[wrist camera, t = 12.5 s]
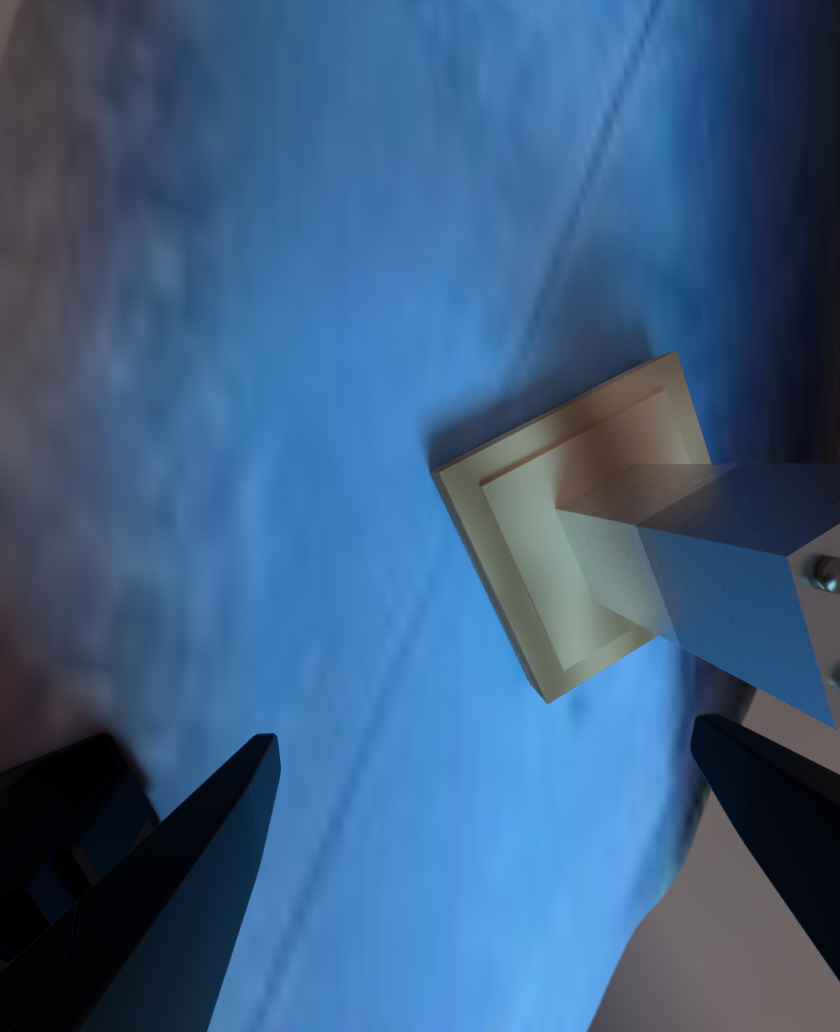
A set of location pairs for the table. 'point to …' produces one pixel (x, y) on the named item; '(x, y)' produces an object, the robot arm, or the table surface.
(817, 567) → the plate
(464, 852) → the table surface
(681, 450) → the stand
